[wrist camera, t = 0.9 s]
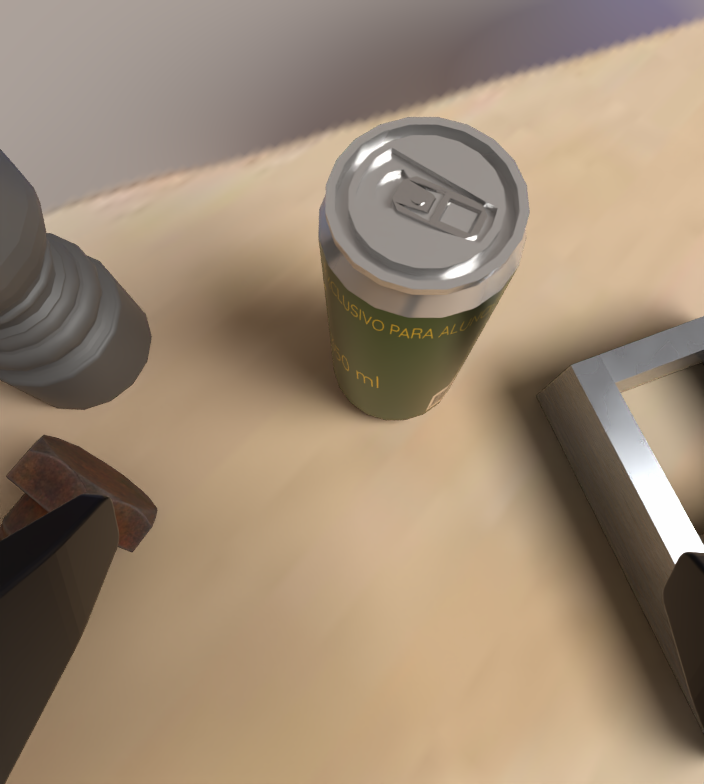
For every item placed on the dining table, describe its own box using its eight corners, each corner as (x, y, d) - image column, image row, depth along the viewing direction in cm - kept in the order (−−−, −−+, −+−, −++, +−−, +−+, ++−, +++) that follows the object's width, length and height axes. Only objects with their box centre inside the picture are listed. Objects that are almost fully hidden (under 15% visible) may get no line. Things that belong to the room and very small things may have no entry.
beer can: (470, 343, 25) (572, 158, 13) (421, 445, 23) (486, 338, 12) (367, 295, 25) (376, 80, 14) (313, 391, 24) (273, 240, 12)
